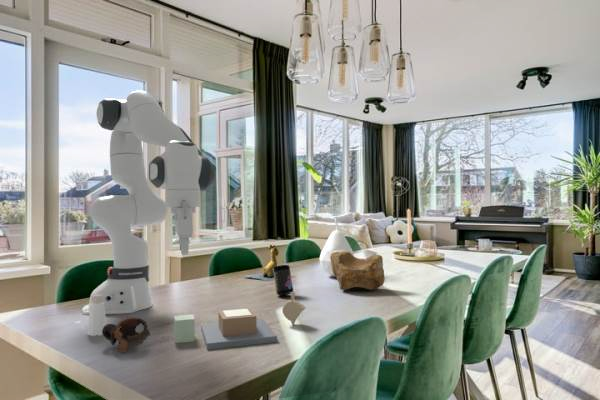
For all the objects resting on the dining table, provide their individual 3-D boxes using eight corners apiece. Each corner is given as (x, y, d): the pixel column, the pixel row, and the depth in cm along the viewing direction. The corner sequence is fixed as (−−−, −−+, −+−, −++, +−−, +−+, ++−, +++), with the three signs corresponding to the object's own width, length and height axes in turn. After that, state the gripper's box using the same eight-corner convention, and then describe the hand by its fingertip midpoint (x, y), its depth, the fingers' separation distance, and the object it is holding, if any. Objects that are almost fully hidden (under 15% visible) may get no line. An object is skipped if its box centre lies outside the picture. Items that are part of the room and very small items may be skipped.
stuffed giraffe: (292, 276, 211) (292, 244, 211) (269, 282, 196) (269, 247, 196) (266, 273, 220) (266, 242, 220) (243, 279, 205) (242, 245, 205)
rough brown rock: (319, 291, 175) (318, 254, 175) (334, 284, 190) (334, 250, 190) (375, 296, 165) (374, 257, 165) (386, 288, 180) (386, 252, 180)
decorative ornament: (293, 319, 131) (277, 311, 130) (307, 297, 130) (292, 289, 129) (293, 326, 127) (277, 318, 126) (308, 304, 126) (292, 295, 125)
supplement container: (284, 291, 161) (280, 264, 165) (272, 295, 165) (269, 269, 169) (297, 291, 166) (293, 265, 170) (285, 296, 170) (281, 270, 174)
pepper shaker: (83, 334, 121) (83, 294, 121) (103, 330, 125) (103, 291, 125) (90, 338, 117) (90, 297, 117) (111, 334, 121) (110, 294, 121)
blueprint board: (207, 349, 107) (206, 324, 107) (201, 329, 125) (200, 307, 125) (277, 341, 113) (276, 318, 113) (262, 323, 130) (261, 302, 130)
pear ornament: (314, 278, 202) (313, 219, 202) (332, 271, 222) (332, 217, 223) (347, 281, 195) (346, 219, 195) (363, 273, 215) (362, 217, 215)
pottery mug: (153, 340, 115) (155, 317, 112) (141, 368, 107) (143, 344, 103) (107, 332, 114) (108, 308, 111) (91, 359, 106) (92, 335, 102)
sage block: (174, 343, 112) (174, 320, 112) (174, 337, 117) (174, 315, 117) (194, 341, 114) (194, 319, 114) (193, 336, 119) (193, 314, 119)
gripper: (198, 200, 107) (199, 256, 107) (193, 200, 126) (193, 248, 126) (171, 200, 105) (172, 257, 105) (170, 200, 124) (171, 249, 124)
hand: (183, 252), depth 116 cm, fingers open, 8 cm apart
